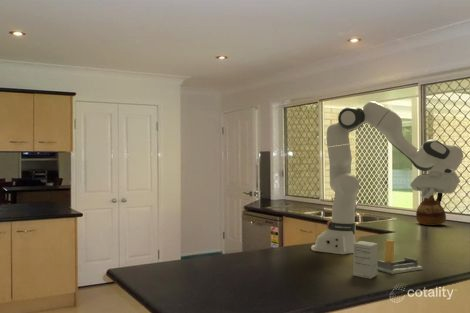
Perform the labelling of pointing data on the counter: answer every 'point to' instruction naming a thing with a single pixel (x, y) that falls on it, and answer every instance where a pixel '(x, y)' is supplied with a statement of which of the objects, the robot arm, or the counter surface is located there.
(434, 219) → the ceramic pitcher
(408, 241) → the counter surface
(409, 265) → the console
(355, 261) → the supplement box
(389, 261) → the orange upright block
